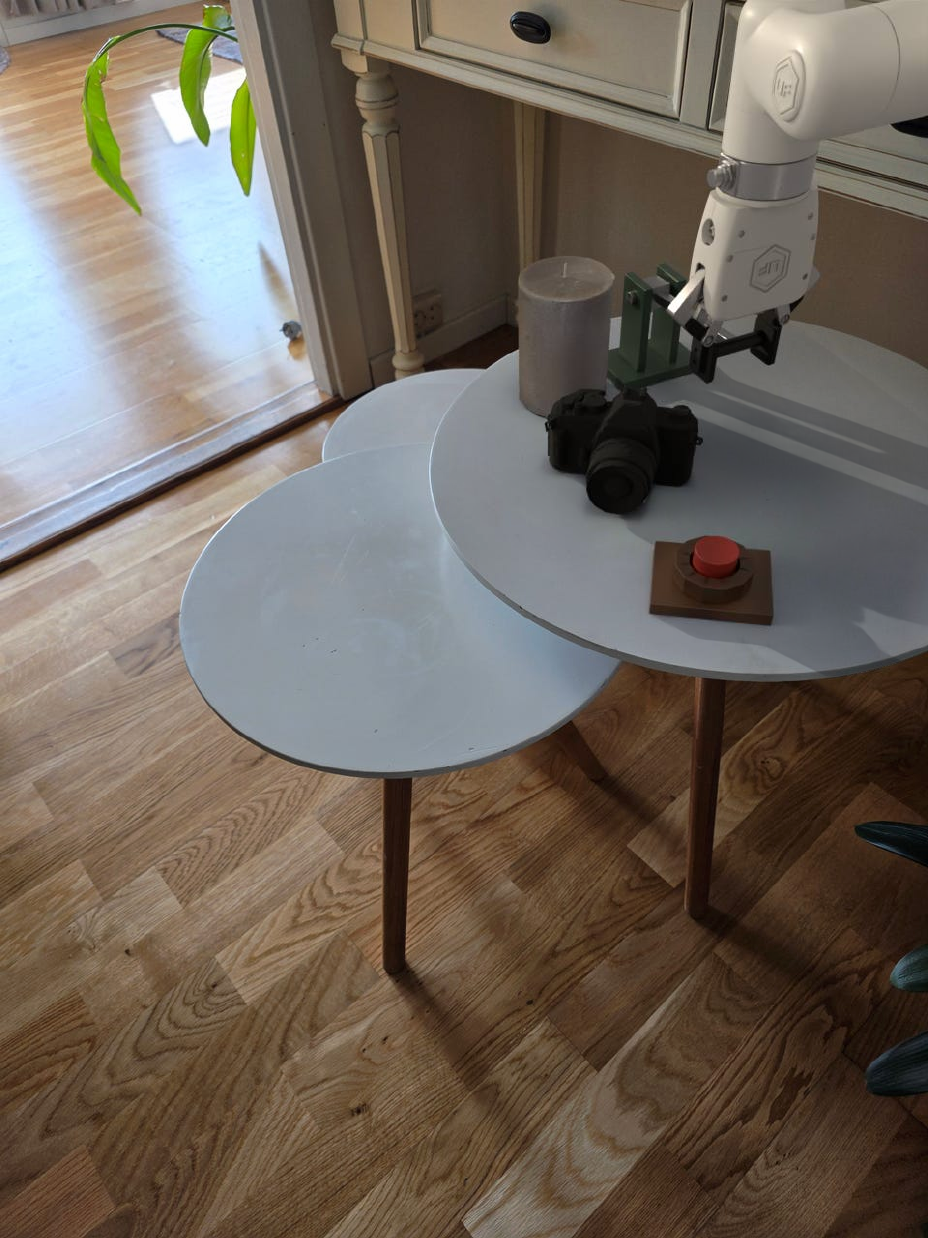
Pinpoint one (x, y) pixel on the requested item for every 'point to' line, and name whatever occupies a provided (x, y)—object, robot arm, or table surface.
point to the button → (715, 557)
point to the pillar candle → (563, 329)
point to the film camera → (621, 445)
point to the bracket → (638, 354)
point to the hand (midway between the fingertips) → (732, 365)
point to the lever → (724, 338)
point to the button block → (711, 586)
